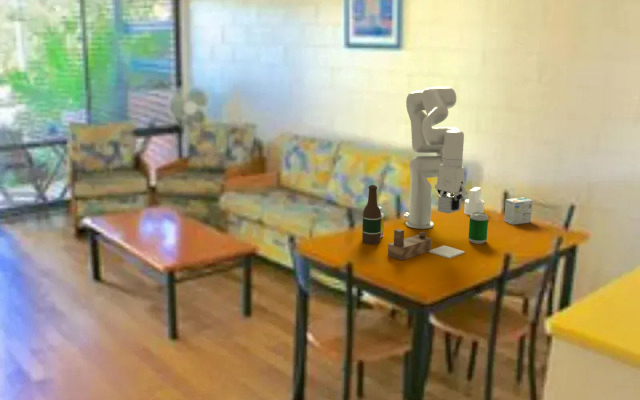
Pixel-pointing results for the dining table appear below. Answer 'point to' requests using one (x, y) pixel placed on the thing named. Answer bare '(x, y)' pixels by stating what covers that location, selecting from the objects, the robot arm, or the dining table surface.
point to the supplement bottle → (381, 222)
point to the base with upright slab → (474, 202)
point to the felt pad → (446, 251)
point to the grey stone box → (447, 203)
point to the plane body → (408, 245)
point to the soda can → (478, 228)
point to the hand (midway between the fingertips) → (449, 207)
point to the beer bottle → (371, 218)
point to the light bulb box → (518, 210)
